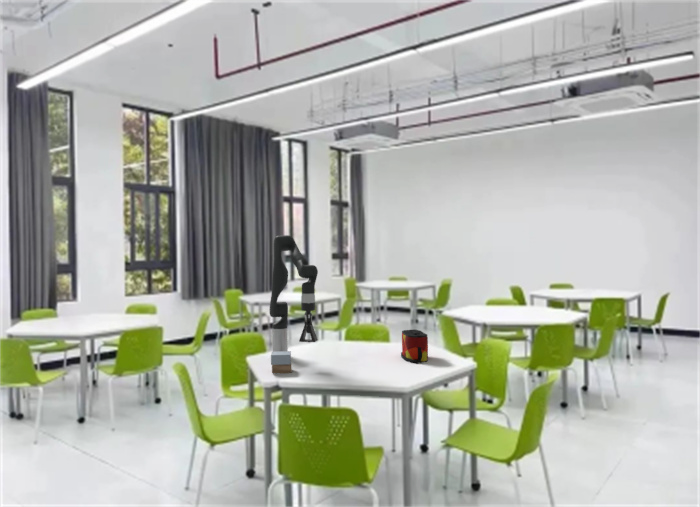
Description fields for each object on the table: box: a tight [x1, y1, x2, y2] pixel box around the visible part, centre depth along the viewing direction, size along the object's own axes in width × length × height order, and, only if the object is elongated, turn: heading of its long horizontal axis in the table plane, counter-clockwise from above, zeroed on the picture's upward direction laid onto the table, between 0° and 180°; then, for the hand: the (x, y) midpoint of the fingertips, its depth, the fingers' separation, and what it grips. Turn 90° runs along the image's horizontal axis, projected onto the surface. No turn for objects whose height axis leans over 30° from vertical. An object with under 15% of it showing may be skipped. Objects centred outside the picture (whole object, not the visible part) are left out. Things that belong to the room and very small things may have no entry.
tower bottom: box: [271, 362, 292, 374], centre depth 277 cm, size 10×10×5 cm
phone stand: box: [298, 319, 318, 343], centre depth 286 cm, size 9×6×12 cm, turn 81°
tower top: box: [270, 350, 292, 366], centre depth 277 cm, size 10×10×5 cm
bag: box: [400, 329, 429, 365], centre depth 308 cm, size 30×14×16 cm, turn 6°
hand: (308, 331), depth 286 cm, fingers closed on phone stand, 6 cm apart
